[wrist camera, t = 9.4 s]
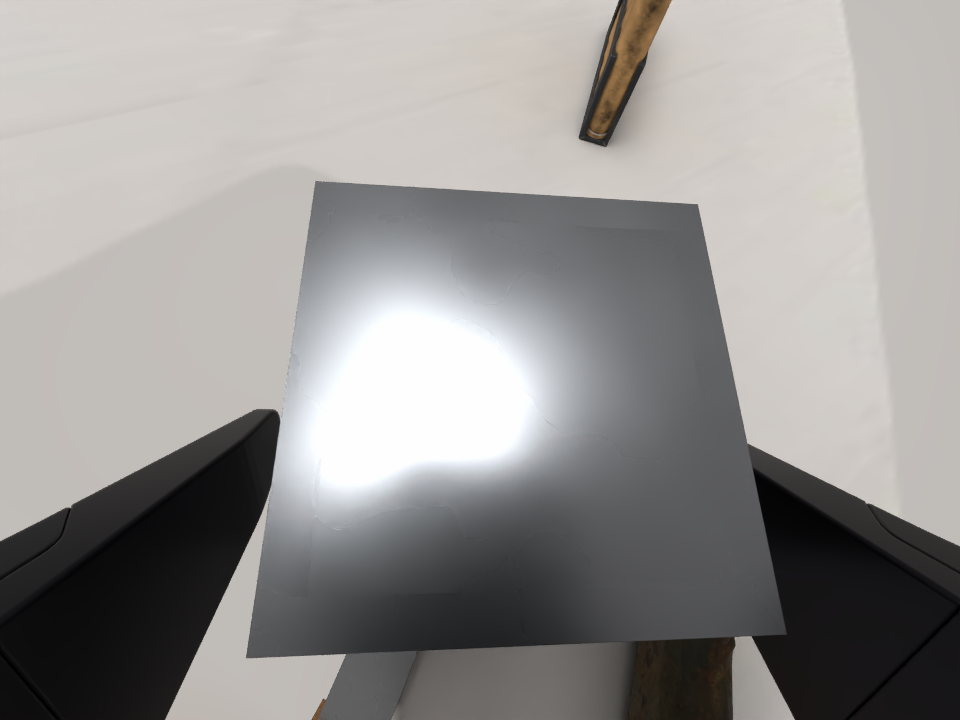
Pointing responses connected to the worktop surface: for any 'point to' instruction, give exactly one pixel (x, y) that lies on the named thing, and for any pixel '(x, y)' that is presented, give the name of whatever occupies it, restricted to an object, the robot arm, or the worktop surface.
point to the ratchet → (367, 686)
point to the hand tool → (683, 680)
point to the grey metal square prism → (507, 432)
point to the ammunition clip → (621, 65)
